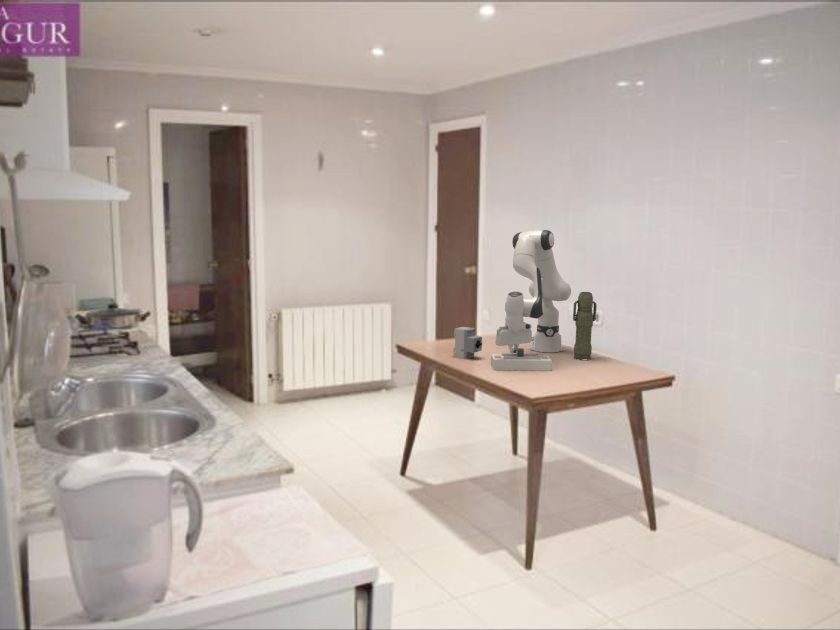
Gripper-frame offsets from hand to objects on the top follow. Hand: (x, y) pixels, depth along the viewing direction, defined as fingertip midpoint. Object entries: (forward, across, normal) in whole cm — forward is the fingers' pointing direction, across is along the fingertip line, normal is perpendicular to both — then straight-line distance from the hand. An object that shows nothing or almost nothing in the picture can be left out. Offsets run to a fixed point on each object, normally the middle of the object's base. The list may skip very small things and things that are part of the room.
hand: (513, 353), depth 354 cm
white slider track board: (+7, +3, -2) cm, 8 cm away
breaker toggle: (+2, +3, -2) cm, 4 cm away
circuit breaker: (+7, -6, +29) cm, 30 cm away
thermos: (+7, +46, 0) cm, 47 cm away
